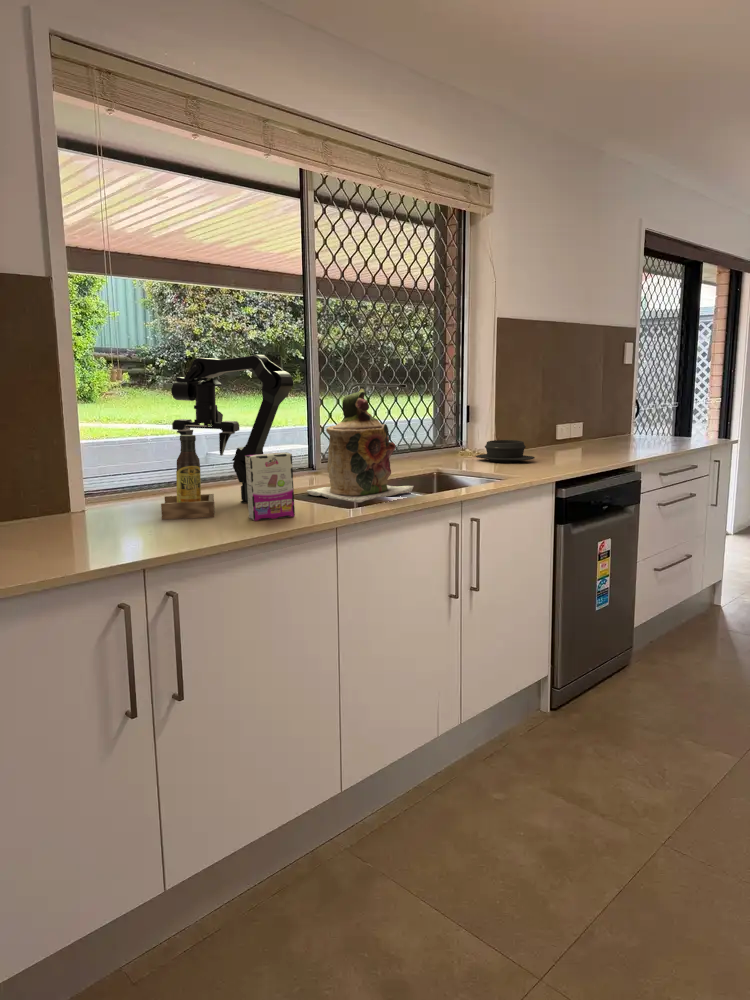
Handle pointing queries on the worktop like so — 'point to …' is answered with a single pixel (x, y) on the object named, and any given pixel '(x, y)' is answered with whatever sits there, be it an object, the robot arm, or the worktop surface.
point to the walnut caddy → (188, 508)
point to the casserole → (505, 451)
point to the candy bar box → (270, 486)
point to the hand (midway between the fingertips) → (206, 454)
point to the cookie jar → (359, 455)
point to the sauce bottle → (188, 471)
